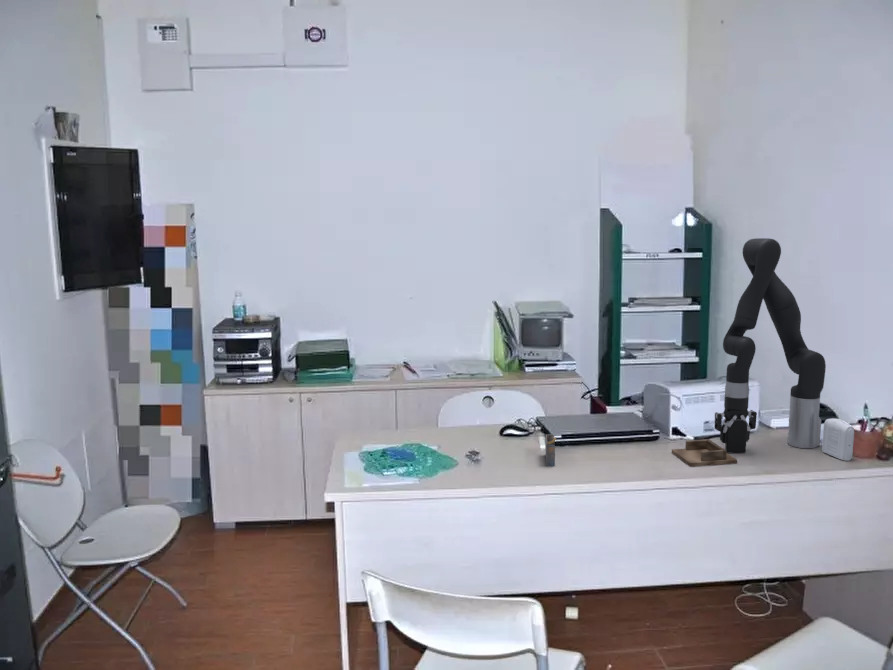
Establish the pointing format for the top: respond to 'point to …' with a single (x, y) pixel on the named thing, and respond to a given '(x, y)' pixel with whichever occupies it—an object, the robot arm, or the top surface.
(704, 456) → the u rest
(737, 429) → the battery
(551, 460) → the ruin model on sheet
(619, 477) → the top surface
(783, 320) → the robot arm
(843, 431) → the photo printer
